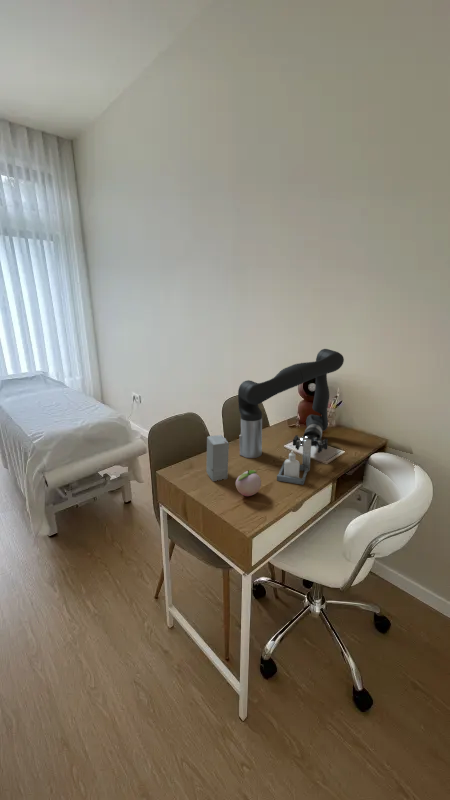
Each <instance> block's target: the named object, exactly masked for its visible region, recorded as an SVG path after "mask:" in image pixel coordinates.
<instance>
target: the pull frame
mask: <svg viewBox="0 0 450 800" xmlns="http://www.w3.org/2000/svg"><path fill="white" fill-rule="evenodd" d="M311 451H312V446H311V439H308V438H305V439H303V447H302V462H301V463H302V464H300V468H299V471H303V475H302V478H301V477H299V478H296V477H290V476H284V462H285V461H283V462H282V465H281V467H280V469H279V472H278V474H277V475H276V481H278V482H284V483H289V484H295V485H296V484H297V485H302V486H303V485H305V481H306V478H307V474H308V472H310V471H311V470H310V469H311V455H312V454H311Z"/></svg>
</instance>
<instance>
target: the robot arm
mask: <svg viewBox="0 0 450 800" xmlns="http://www.w3.org/2000/svg"><path fill="white" fill-rule="evenodd" d="M344 362H345V358H344V356H343V354H342V353H340V352H339V351H335V350H332V349H328V348H323V349H321V350H320V351H318V352H317V355H316V358H315V361H309V362H308V361H307V362H299V363H295V364H292V365H289V366H287V367H284V368H282V369H281V370H280V371H279V372H278V373H277V374H276V375H275V376H274V377H272V378H271V379H269V380H266V381H263V382H259V383H257V382H255V381H253V380H249V379H248V380H245V381H242V382H241V384H239V387H238V390H237V398H238V399H237V401H238V411H239V414H240V434H239V455H240V456H242V457H244V458H246V459H255V458H259V457H261V456H262V453H263V412H262V410H261V408H260V407H259V404H262V403H265V401H267V400H269V399H271V398H272V397H275V396H277V395H278V394H280V393H283V392H285V391H288V390H290V389H292V388H295V387H298V386H300V385H301V384H304V383H306V382H308V381H311V380H314V379H315V385H314V388H315V389H314V396H313V403H312V407H311V408H312V410H313V411H314V412H316V413H318V414H320V415H317V414H309V415H307V417H306V421H305V423H306V424H305V425H306V428H305V429H304V433H303V435H302V436H301V437H299V436H298V435H295V436H294V437H293V439H292V446H293V447H294V446H295V447H294V448H295V449H296V451H299V450H300V447H302V448H303V439H305V438H308V439H311V447H315V448H316V449H317V453H318V454H319V453H322V452H323V451H322V450H328V444H329V443H328V442H329V441H328V438H324V439H322V437H323V432H324V431H326V430H327V429H328V428H329V418H328V408H329V401H330V389H329V385H328V378H327V376H328V374H331V373H334V372H336V371H338V370H339V369H340V368H342V366H343V365H344Z"/></svg>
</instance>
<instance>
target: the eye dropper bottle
mask: <svg viewBox="0 0 450 800" xmlns="http://www.w3.org/2000/svg"><path fill="white" fill-rule="evenodd" d="M283 462H284V471H283V476H290V477H296V478H300V470H299V468H300V461H299V460H297V459H296V453H294V450H291V452H289V453H288V458H287V459H286V458H285V460H284V461H283Z"/></svg>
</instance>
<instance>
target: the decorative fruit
mask: <svg viewBox="0 0 450 800" xmlns="http://www.w3.org/2000/svg"><path fill="white" fill-rule="evenodd" d="M257 473H258V471H257V470H255V469H251V470H247V471H244V472H243V473H242V474H240V475H238V476H237V478H236V480H235V487H236V489H237V491H238V493H239V494H240V495H242V496H245V497H251V496H253V495H255V494H257V493H258V492H259V491H260V489H261V486H262V480H261V477H260V475H258V474H257Z"/></svg>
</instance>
